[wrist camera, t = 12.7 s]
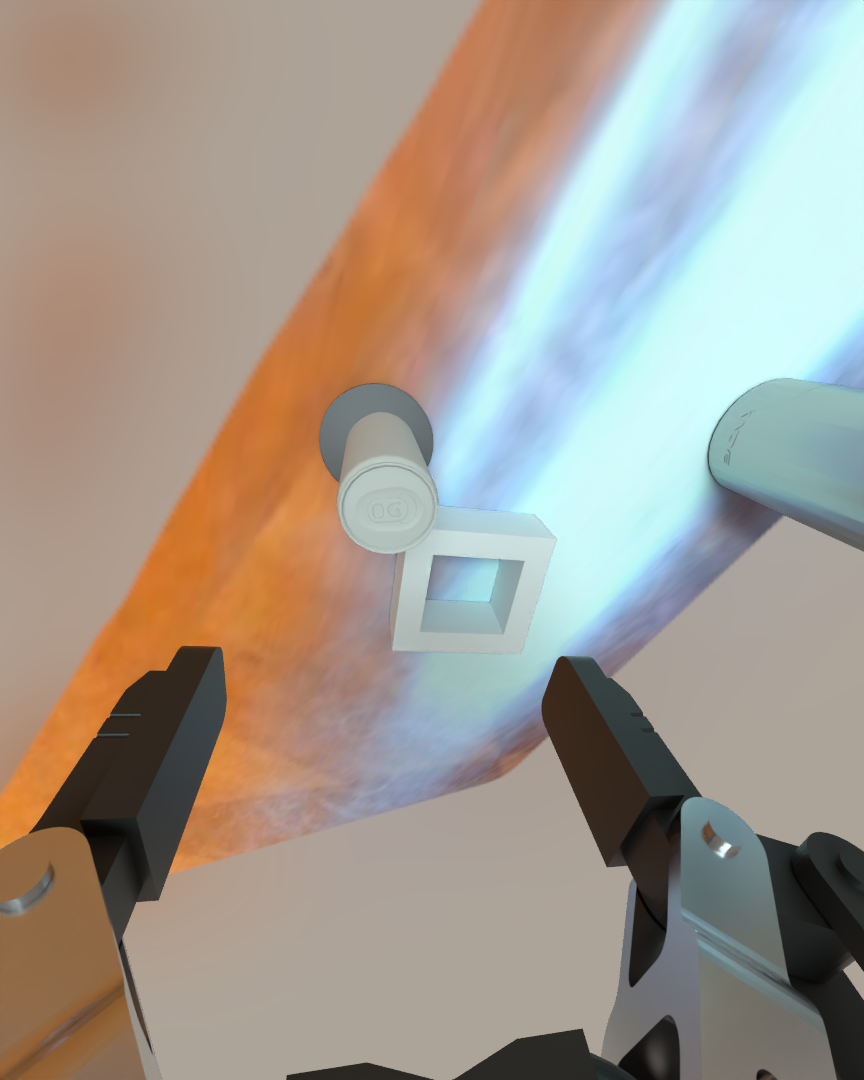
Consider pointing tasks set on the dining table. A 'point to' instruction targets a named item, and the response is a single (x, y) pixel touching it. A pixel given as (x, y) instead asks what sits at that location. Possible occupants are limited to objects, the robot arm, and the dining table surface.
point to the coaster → (360, 405)
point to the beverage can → (385, 486)
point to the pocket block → (467, 622)
